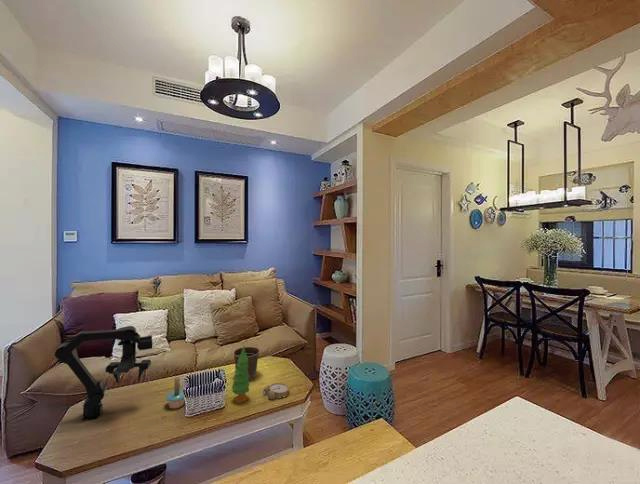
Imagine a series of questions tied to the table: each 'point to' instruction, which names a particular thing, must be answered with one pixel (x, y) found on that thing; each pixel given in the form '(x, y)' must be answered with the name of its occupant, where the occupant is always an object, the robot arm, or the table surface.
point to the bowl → (176, 404)
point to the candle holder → (276, 390)
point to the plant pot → (249, 360)
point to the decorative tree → (241, 378)
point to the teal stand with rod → (175, 392)
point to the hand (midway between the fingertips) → (128, 382)
